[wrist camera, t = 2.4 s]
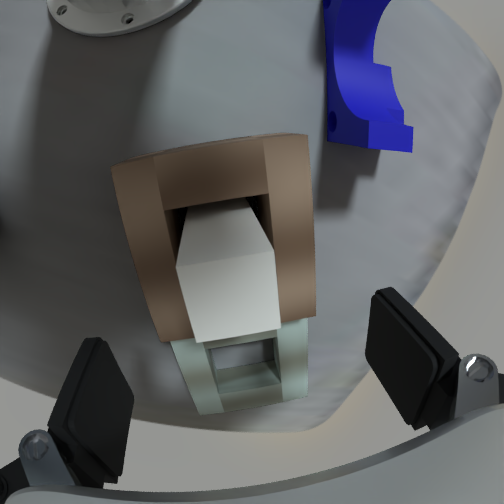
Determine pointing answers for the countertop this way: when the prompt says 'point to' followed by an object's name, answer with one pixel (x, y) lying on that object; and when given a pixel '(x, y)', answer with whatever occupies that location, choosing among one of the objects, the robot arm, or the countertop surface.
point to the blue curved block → (360, 80)
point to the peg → (227, 271)
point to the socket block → (275, 228)
